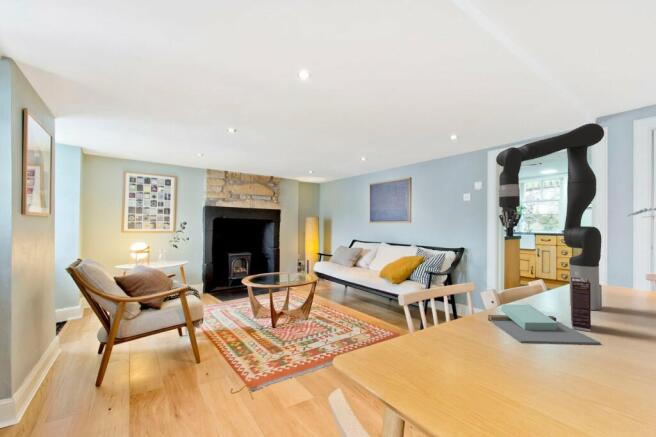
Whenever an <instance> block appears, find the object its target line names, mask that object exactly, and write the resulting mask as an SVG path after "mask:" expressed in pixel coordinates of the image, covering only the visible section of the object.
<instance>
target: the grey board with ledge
mask: <svg viewBox="0 0 656 437" xmlns="http://www.w3.org/2000/svg"><path fill="white" fill-rule="evenodd" d="M547 316H548V317H549V318H551V319H552V320H554V321H556V322H557V330H524V329H523V328H522V327H520V326H519V325H518V324H517V323H515V322H514V321H513V320H512V319H510V318H509V317H508V316H507V315H506V314H502V315H501V314H488V315H487V320H488V321H489V322H490V321H491V322H490V323H492V324H493V323H494V324H493V325H495V326H496V327H498V328H499V329H501V330H502V331H503V332H505V333H506V334H508V335H509V336H510V337H512V338H513V339H515V340H516V341H518V342H519V343H521V344H553V345H554V344H555V345H557V344H558V345H559V344H561V345H563V344H565V345H596V346H597V345H602V343H601V341H598V340H596V339H594V338H592V337H591V336H588V335H586V334H584V333H581V332H580V331H579V330H576V329H573V328H572V327H570V326H567V325H565V324H563V323H561V322H558V321H557V317H555V316H554V315H547Z"/></svg>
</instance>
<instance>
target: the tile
mask: <svg viewBox="0 0 656 437" xmlns="http://www.w3.org/2000/svg"><path fill="white" fill-rule="evenodd" d="M500 312H501V313H503V315H507V316H508V317H509V318H510V319H512V320H513V321H514V322H515V323H517V324H518V325H519V326H520V327H522V328H523V329H524V330H557V322H558V321H557V320H556V321H557V322H556V321H554V320H552V319H551V318H549V317H548V316H549V315H546V314H544V313H543V312H542V311H540V310H539V309H537V308H536V307H534V306H533V305H531V304H519V303H518V304H511V303H510V304H508V303H507V304H505V303H504V304H503V303H502V304H501V306H500Z"/></svg>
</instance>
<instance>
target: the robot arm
mask: <svg viewBox="0 0 656 437" xmlns="http://www.w3.org/2000/svg"><path fill="white" fill-rule="evenodd" d="M604 136H605V130H604V127H603V126H602V125H600V124H598V123H593V122H591V123H586V124H583V125H580V126H578V127H576V128H574V129H572V130H570V131H568V132H566V133H562V134H559V135H555V136H552V137H546V138H544V139H539V140H535V141H532V142H529V143H525V144H523V145H521V146H519V147H514V146H512V147H508V148H506V149H504V150H502V151H500V152H499V153H498V154H497V156H496V158H495V160H496V161H495V162H496V164H497V165H498V166H499V167H503V170H502V171H501V172H500V174H499V180H498V181H499V184H498V185H499V188H498V189H499V190H498V207H500V208H502V210H501V214H499V215H498V217H499V220H500V223H501V225H502V226H503V227H504V229H505V236H506V237H507V238H510V237H511V238H513V237H514V228H515V227H517V226H518V224H519V222H520V219H521V217H522V215H521V213H519V214H518V209H517V208H519V207H520V206H521V201H520V200H521V194H520V193H521V190H520V181H519V180H520V178H519V175H520V170H521V166H522V162H526V161H532V160H535V159H540V158H543V157H546V156H549V155H552V154H555V153H557V152H560V151H563V150H566V157H567V187H566V190H567V191H566V193H567V194H566V197H567V198H566V215H565V222H564V229H563V241H564V243H565V245H566V246H567V247H568V248H571V249H581V253H580V254H578V255H575V256H571V257H570V258H568V259H569V262H568V264H569V265H568V266H569V270H568V271H569V305H570V306H571V277H575V278H586V279H588V280H589V282H590V283H591V311H599V310H600V309H603V304H602V303H603V301H602V300H603V298H602V295H603V294H602V292H603V291H602V290H603V289H602V287H603V286H602V285H601V283H600V261H601V256H602V255H601V254H602V234H601V231H600V229H599V228H598V227H595V226H583V225H582V219H583V215H584V214H585V211H586V210H587V208H588V207H589V206H590V205H591V204H592V202H593V200H594V199H595V197H596V196H597V176H596V175H595V173H594V170H593V169H592V167H591V166H590V164H589V162H588V148H589V147H592V146H595V145H596V144H599V143H600V142H601V141H602V140H603V138H604Z"/></svg>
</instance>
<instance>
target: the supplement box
mask: <svg viewBox="0 0 656 437" xmlns="http://www.w3.org/2000/svg"><path fill="white" fill-rule="evenodd" d="M591 313H592V310H591V283H590V282H589V280H588V279H586V278H575V277H571V305H570V324H571V329H573V330H576V331H583V332H589V333H590V332H592V330H591V329H592V323H591V321H592V319H591V318H592V317H591V315H592V314H591Z"/></svg>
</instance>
